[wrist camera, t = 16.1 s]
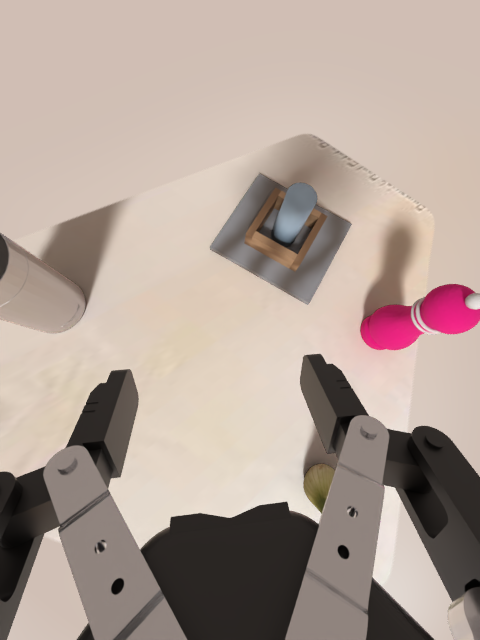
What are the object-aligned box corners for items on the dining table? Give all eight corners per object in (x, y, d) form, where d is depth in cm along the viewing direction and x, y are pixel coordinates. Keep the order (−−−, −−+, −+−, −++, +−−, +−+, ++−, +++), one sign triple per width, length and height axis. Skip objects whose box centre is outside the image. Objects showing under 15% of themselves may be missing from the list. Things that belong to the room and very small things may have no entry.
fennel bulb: (296, 490, 42) (326, 531, 30) (303, 456, 43) (334, 483, 32) (333, 499, 42) (377, 544, 31) (338, 465, 43) (382, 496, 32)
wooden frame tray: (210, 249, 50) (209, 236, 45) (258, 177, 54) (262, 159, 49) (307, 304, 49) (316, 297, 44) (349, 227, 53) (361, 213, 48)
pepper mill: (373, 304, 50) (473, 254, 30) (404, 332, 49) (527, 299, 29) (349, 332, 48) (437, 298, 29) (380, 361, 47) (493, 347, 28)
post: (266, 238, 50) (280, 199, 39) (278, 219, 51) (296, 177, 40) (287, 251, 50) (308, 216, 39) (299, 232, 51) (322, 193, 40)
